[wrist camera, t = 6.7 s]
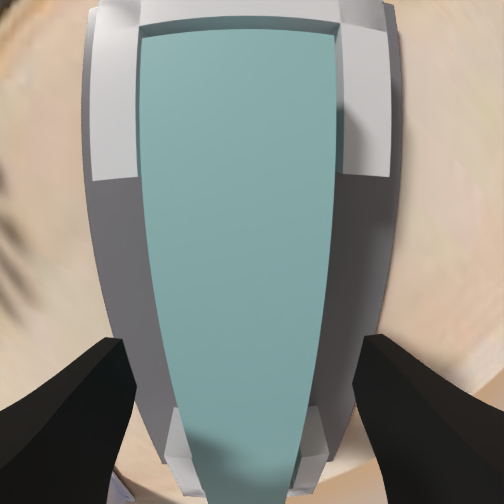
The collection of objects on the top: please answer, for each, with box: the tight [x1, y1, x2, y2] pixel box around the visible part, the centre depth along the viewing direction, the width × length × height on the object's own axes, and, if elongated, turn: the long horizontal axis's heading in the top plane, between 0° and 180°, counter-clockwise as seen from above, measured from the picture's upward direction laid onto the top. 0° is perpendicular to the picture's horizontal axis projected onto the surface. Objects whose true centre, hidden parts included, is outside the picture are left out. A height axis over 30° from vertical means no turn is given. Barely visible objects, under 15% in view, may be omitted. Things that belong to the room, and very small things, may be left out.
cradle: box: [81, 0, 402, 498], centre depth 10 cm, size 24×11×4 cm, turn 0°
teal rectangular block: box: [139, 29, 336, 504], centre depth 9 cm, size 16×3×5 cm, turn 0°
